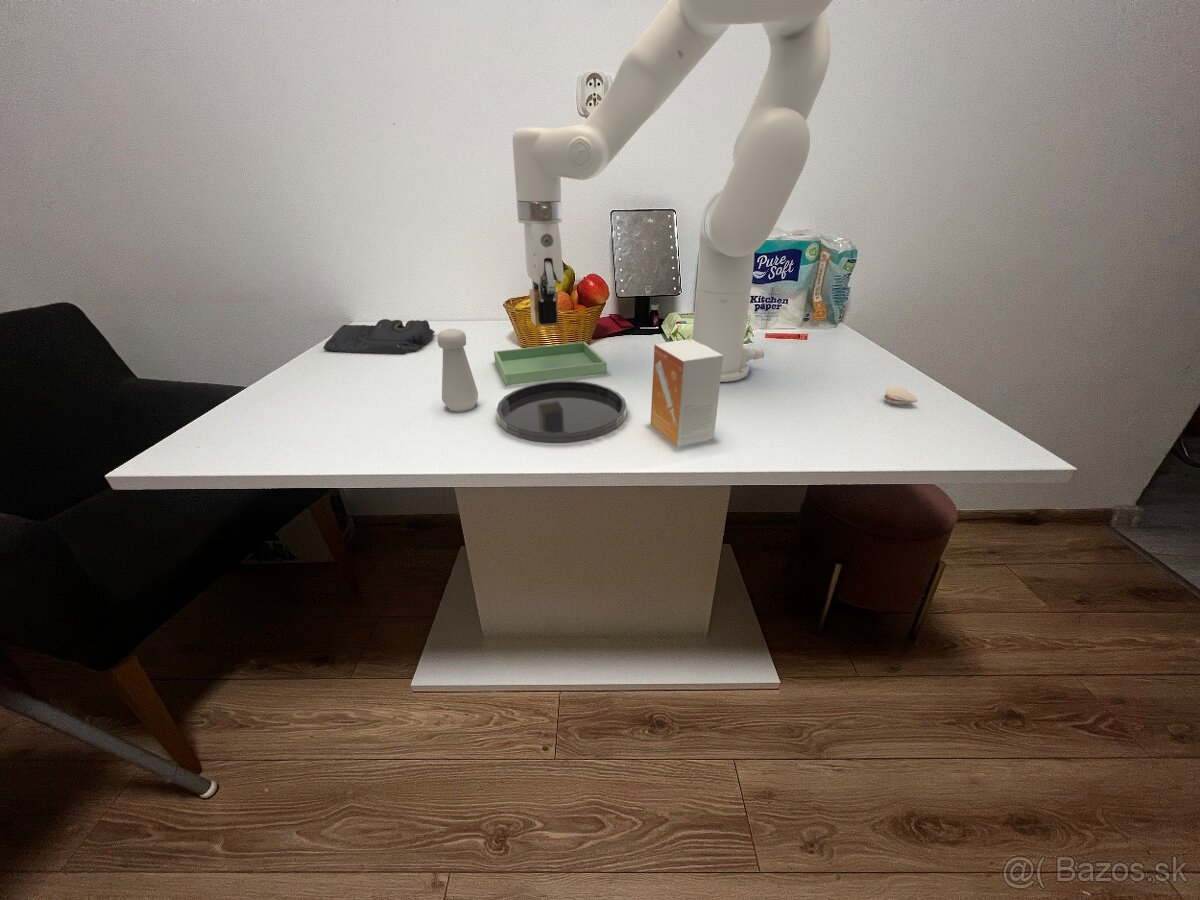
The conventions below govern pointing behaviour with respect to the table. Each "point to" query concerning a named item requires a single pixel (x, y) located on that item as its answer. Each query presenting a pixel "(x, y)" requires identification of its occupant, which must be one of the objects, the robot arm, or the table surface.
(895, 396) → the beige pistachio shell
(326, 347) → the dark crumpled cloth
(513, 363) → the tray
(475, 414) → the table surface
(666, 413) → the small box
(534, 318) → the block
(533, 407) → the pan
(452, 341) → the salt shaker
